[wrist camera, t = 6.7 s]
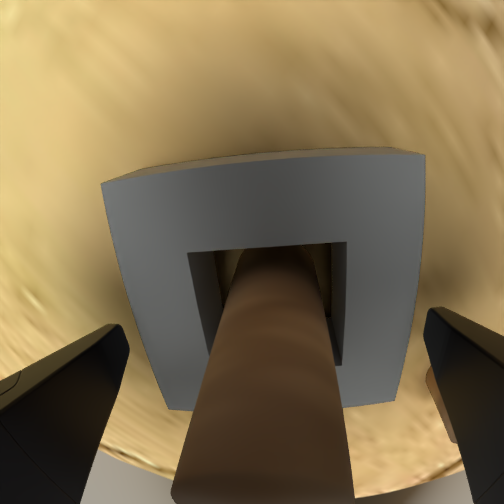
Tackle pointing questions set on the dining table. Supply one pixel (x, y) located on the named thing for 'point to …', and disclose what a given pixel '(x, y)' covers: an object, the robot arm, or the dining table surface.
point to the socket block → (269, 235)
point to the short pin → (439, 403)
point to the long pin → (268, 395)
